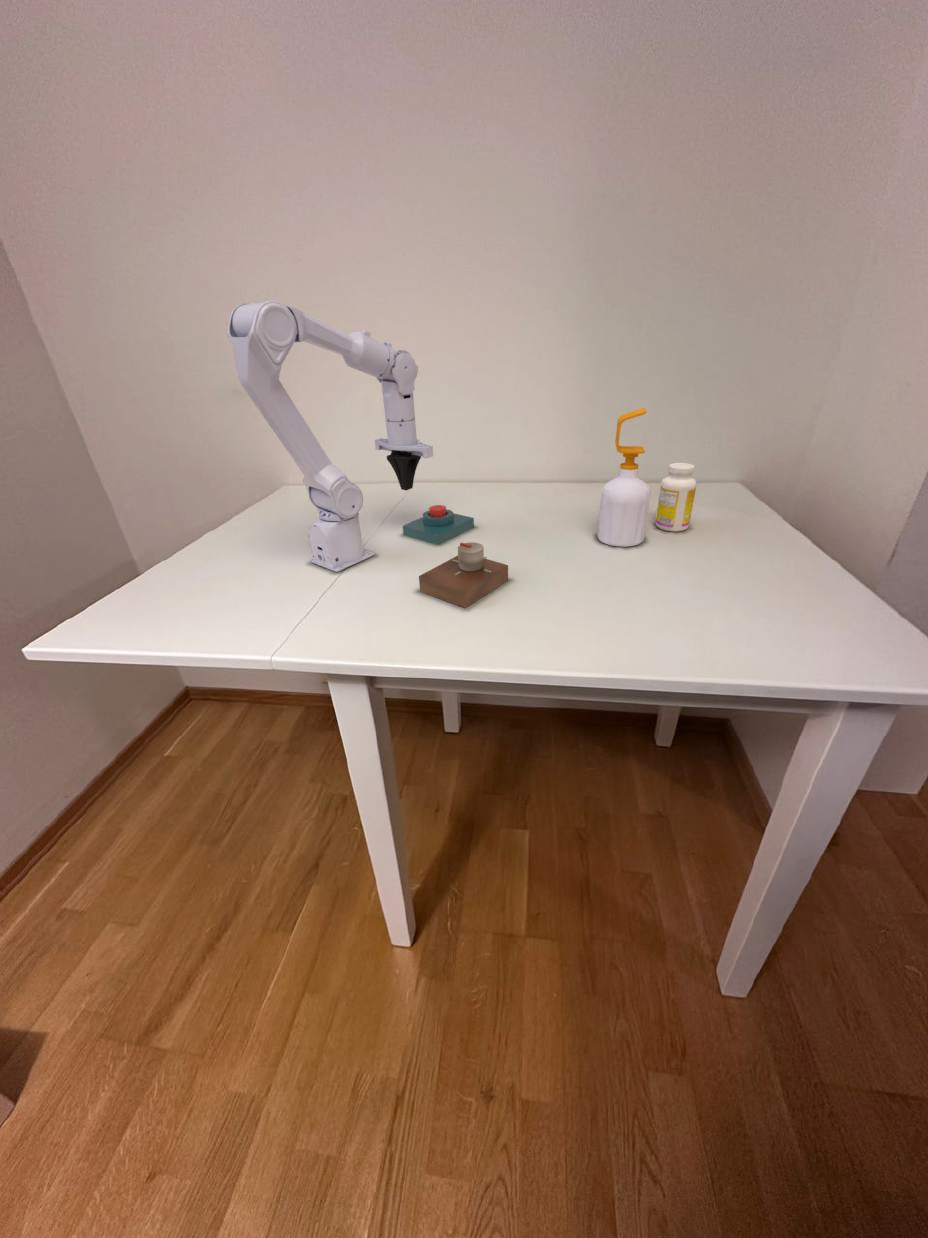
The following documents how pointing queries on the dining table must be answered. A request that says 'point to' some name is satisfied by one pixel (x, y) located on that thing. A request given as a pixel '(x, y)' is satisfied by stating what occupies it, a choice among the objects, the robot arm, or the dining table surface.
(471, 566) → the knob
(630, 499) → the soap bottle
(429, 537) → the button console
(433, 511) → the button
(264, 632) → the dining table surface
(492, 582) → the knob panel
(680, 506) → the supplement bottle
